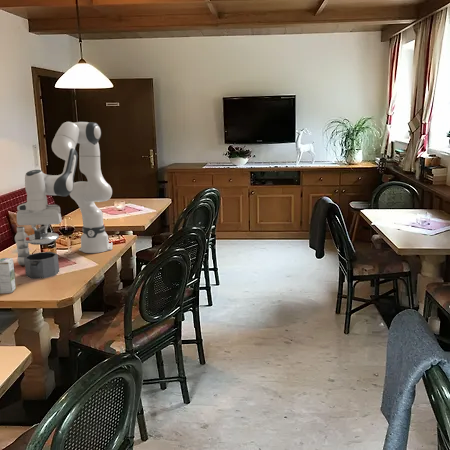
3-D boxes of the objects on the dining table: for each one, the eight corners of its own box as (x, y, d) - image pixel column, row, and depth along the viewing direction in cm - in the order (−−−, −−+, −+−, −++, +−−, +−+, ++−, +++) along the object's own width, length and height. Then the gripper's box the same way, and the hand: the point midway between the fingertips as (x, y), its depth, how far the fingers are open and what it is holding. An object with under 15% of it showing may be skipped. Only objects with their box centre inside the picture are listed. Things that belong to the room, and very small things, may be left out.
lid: (31, 237, 250) (30, 225, 248) (63, 236, 250) (61, 224, 248) (19, 246, 235) (17, 233, 233) (53, 245, 235) (51, 232, 233)
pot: (35, 268, 257) (34, 250, 255) (63, 267, 257) (62, 250, 255) (20, 281, 237) (17, 262, 235) (50, 280, 237) (48, 261, 235)
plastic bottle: (27, 267, 259) (22, 228, 255) (15, 266, 261) (10, 228, 256) (34, 263, 265) (30, 226, 261) (22, 262, 267) (18, 225, 262)
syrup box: (3, 289, 226) (-1, 258, 223) (16, 288, 227) (12, 257, 224) (-2, 293, 221) (-6, 261, 218) (12, 293, 221) (8, 261, 218)
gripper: (61, 203, 241) (64, 231, 245) (18, 204, 241) (22, 232, 245) (57, 205, 235) (60, 234, 238) (13, 207, 235) (17, 236, 238)
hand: (41, 233), depth 242 cm, fingers closed on lid, 2 cm apart
